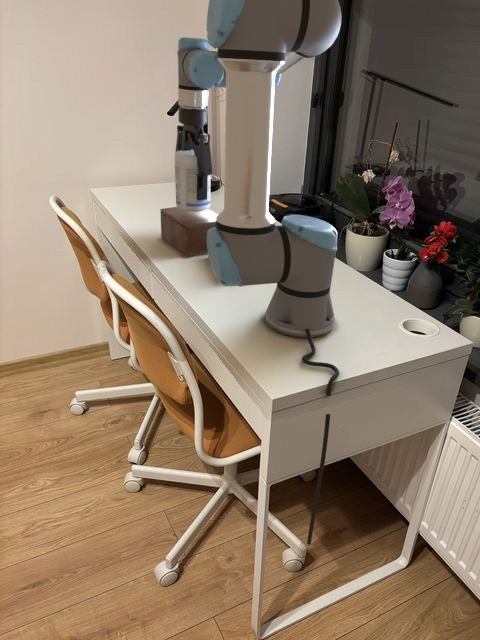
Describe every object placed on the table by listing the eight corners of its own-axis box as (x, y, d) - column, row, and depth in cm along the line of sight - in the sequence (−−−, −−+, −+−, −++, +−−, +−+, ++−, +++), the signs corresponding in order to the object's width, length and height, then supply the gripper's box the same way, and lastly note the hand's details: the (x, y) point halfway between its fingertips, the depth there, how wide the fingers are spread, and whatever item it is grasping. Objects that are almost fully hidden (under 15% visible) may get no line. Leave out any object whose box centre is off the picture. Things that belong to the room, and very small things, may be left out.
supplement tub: (216, 206, 157) (217, 152, 149) (199, 215, 149) (200, 158, 141) (186, 200, 159) (186, 147, 152) (168, 208, 152) (167, 153, 144)
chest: (225, 250, 158) (226, 222, 153) (185, 257, 151) (185, 228, 147) (199, 233, 168) (199, 206, 164) (161, 239, 162) (160, 211, 158)
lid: (227, 222, 153) (227, 219, 152) (187, 228, 146) (187, 225, 146) (199, 206, 164) (199, 204, 164) (160, 211, 158) (160, 208, 157)
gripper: (228, 114, 135) (225, 204, 147) (186, 100, 150) (186, 183, 162) (201, 114, 131) (200, 207, 143) (160, 100, 146) (162, 185, 158)
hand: (192, 194), depth 152 cm, fingers closed on supplement tub, 10 cm apart
